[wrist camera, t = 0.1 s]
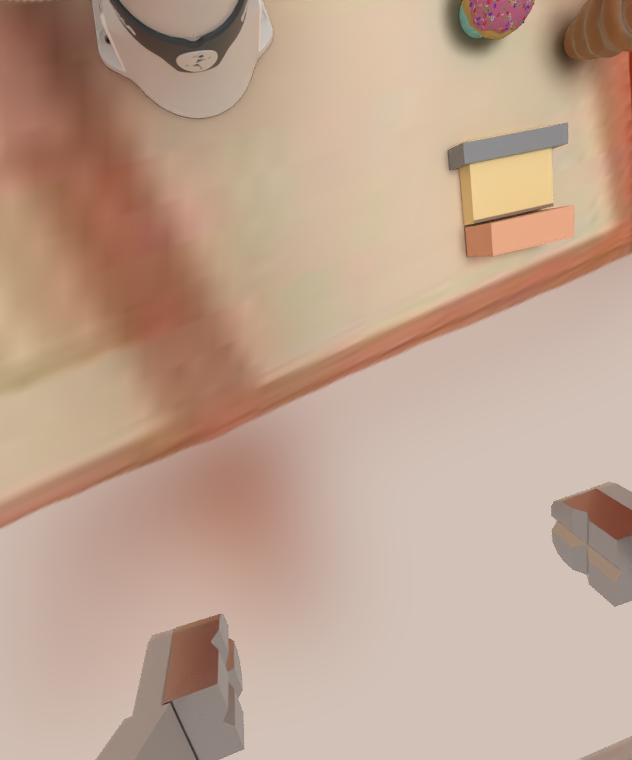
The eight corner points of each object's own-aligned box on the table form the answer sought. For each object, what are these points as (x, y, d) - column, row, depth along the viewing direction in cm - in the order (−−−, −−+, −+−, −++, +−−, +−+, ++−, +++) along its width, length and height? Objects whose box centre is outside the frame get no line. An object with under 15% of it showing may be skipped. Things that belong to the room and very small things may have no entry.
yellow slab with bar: (447, 147, 53) (463, 140, 50) (546, 128, 55) (568, 119, 52) (454, 227, 57) (469, 225, 53) (548, 206, 59) (568, 202, 55)
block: (464, 227, 57) (491, 223, 51) (540, 210, 58) (574, 204, 53) (467, 256, 58) (493, 256, 52) (541, 239, 60) (574, 236, 54)
